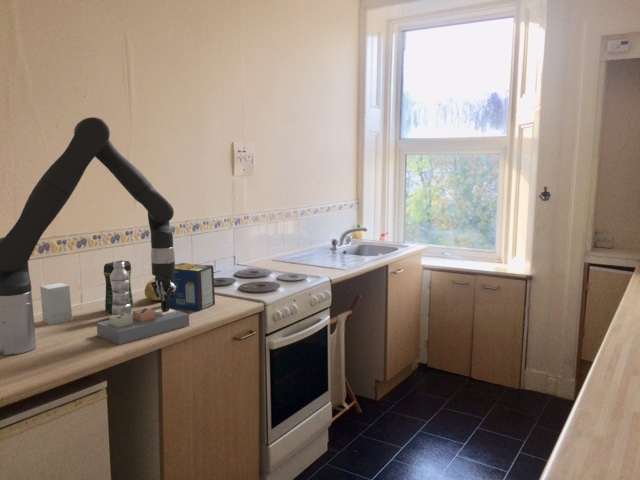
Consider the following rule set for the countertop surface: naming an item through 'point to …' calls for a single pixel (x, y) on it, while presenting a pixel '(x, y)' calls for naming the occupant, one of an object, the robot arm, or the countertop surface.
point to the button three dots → (143, 314)
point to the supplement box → (56, 303)
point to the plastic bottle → (120, 289)
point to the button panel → (142, 327)
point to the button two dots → (120, 320)
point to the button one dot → (165, 312)
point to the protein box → (193, 287)
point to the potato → (150, 291)
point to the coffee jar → (109, 294)
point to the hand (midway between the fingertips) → (165, 310)
